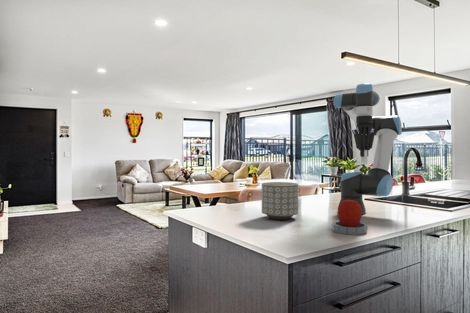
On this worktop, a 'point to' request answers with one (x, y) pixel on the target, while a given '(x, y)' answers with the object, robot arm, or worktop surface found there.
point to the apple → (349, 213)
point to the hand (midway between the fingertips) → (364, 163)
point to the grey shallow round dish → (350, 229)
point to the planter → (280, 200)
